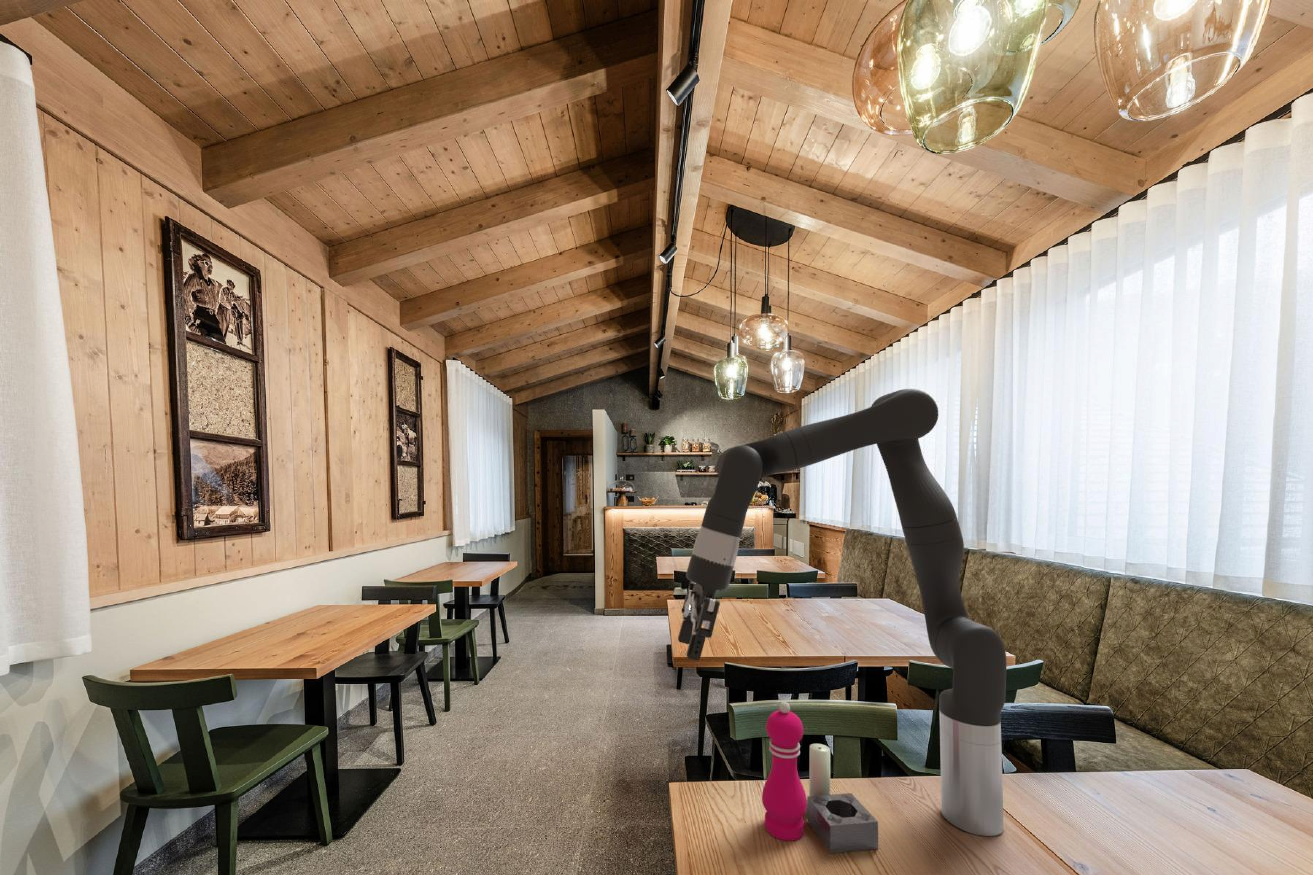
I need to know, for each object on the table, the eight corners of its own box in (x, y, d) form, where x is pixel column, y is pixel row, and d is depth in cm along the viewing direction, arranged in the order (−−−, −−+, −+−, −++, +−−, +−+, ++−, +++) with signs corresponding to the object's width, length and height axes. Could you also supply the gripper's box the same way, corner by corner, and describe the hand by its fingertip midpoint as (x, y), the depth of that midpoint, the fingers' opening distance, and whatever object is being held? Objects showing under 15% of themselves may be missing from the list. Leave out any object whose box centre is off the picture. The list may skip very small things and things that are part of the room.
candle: (815, 799, 97) (815, 741, 98) (833, 808, 95) (833, 748, 96) (805, 807, 95) (805, 747, 96) (824, 816, 92) (824, 754, 93)
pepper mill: (808, 846, 85) (808, 713, 86) (761, 839, 86) (762, 708, 88) (805, 818, 92) (805, 696, 93) (761, 812, 93) (762, 692, 95)
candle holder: (851, 817, 92) (851, 792, 93) (878, 848, 84) (877, 821, 85) (807, 821, 91) (807, 796, 91) (830, 853, 83) (830, 825, 83)
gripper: (745, 570, 87) (718, 671, 85) (723, 556, 101) (700, 642, 100) (701, 558, 86) (673, 659, 85) (685, 545, 100) (661, 632, 99)
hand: (687, 650), depth 92 cm, fingers open, 8 cm apart
